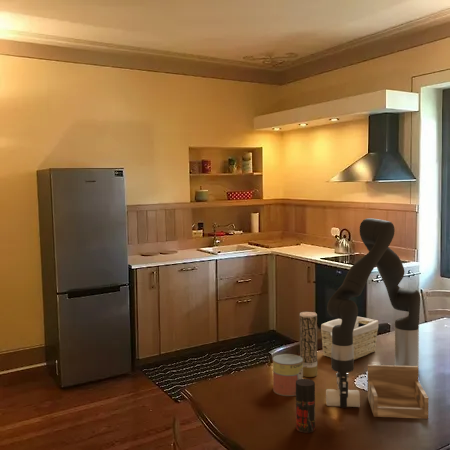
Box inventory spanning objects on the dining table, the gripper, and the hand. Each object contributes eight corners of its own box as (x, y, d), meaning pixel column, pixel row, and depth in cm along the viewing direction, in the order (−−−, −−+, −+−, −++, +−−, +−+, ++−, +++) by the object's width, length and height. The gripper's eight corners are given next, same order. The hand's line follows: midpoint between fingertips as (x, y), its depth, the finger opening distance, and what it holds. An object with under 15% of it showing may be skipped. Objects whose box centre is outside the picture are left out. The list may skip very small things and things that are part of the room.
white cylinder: (326, 401, 182) (325, 386, 182) (358, 402, 181) (358, 387, 180) (326, 408, 177) (326, 393, 176) (360, 409, 175) (360, 394, 175)
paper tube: (317, 378, 204) (316, 316, 202) (299, 377, 205) (299, 315, 203) (317, 372, 211) (317, 312, 209) (300, 371, 212) (300, 311, 210)
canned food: (299, 397, 186) (299, 365, 185) (269, 394, 190) (269, 362, 189) (306, 386, 197) (305, 355, 196) (277, 382, 201) (276, 352, 200)
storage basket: (349, 344, 246) (349, 313, 245) (380, 351, 234) (380, 319, 233) (319, 356, 230) (318, 323, 229) (350, 365, 218) (350, 331, 217)
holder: (367, 397, 185) (367, 364, 184) (417, 398, 183) (417, 366, 182) (373, 416, 170) (373, 381, 169) (428, 418, 168) (428, 382, 167)
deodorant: (294, 424, 166) (293, 379, 164) (312, 423, 166) (312, 378, 165) (298, 433, 160) (298, 386, 159) (317, 432, 160) (316, 385, 159)
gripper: (356, 363, 170) (356, 413, 171) (351, 349, 184) (351, 395, 185) (332, 362, 171) (333, 412, 172) (330, 349, 185) (330, 394, 186)
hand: (342, 403), depth 179 cm, fingers closed on white cylinder, 5 cm apart
